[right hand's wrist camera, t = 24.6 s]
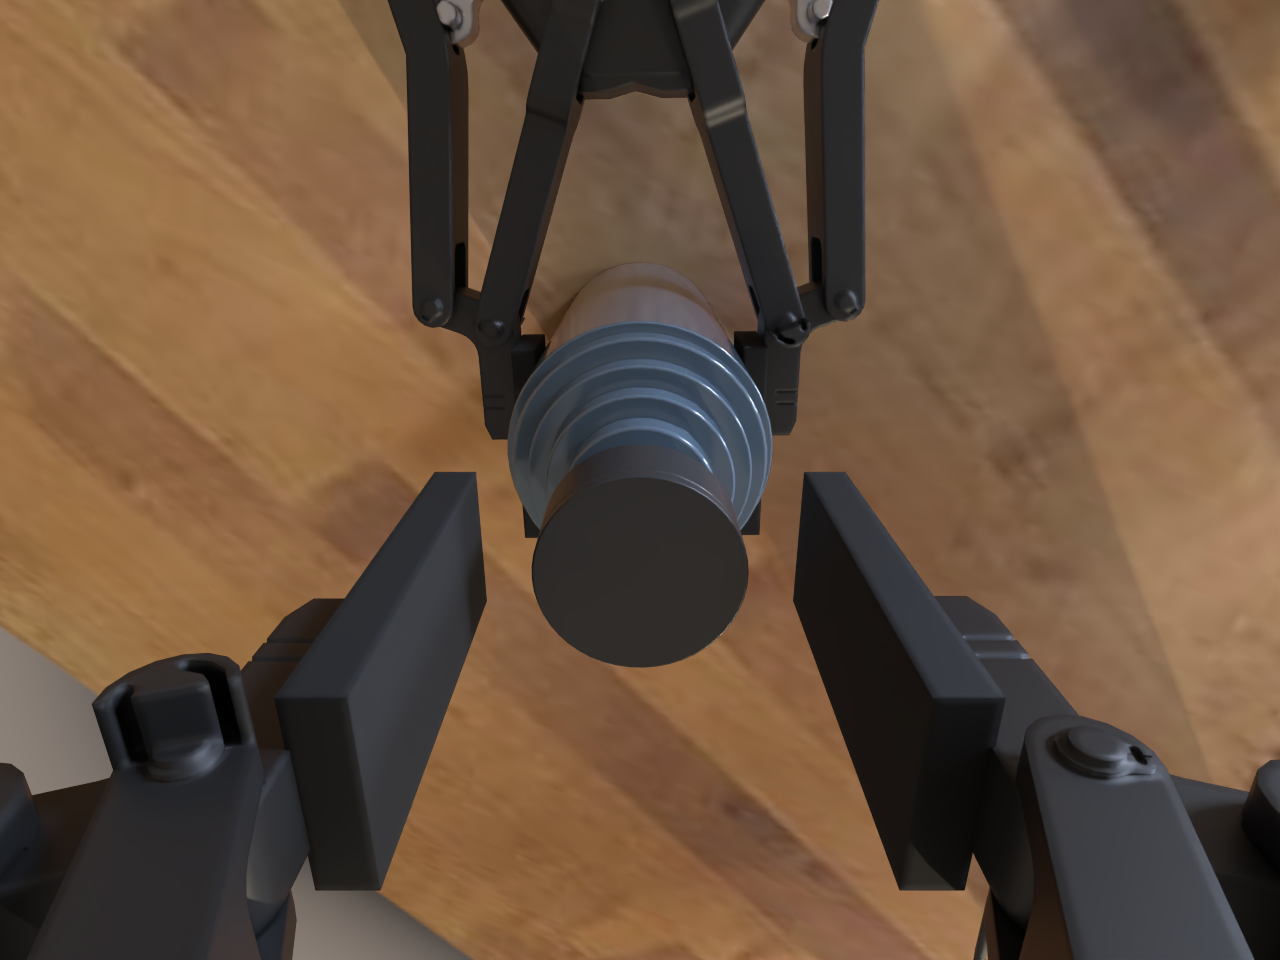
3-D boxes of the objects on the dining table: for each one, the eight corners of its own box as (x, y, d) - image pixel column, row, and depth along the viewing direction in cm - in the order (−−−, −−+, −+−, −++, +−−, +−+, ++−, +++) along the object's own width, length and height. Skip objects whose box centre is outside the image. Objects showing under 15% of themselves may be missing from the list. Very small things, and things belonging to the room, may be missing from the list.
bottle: (640, 447, 33) (640, 759, 15) (529, 343, 32) (383, 556, 14) (750, 343, 32) (897, 554, 14) (639, 226, 30) (638, 292, 12)
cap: (693, 641, 15) (698, 693, 14) (517, 584, 15) (504, 631, 13) (768, 483, 14) (784, 519, 12) (579, 414, 14) (572, 444, 12)
